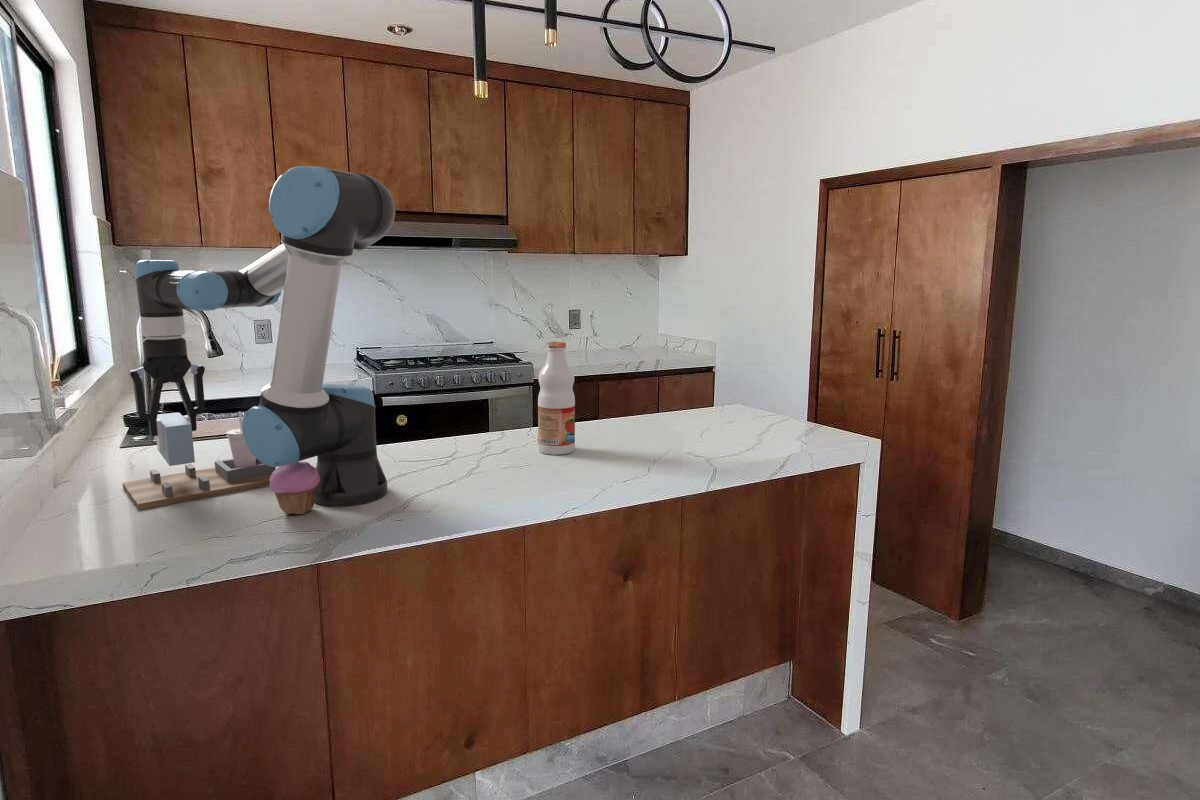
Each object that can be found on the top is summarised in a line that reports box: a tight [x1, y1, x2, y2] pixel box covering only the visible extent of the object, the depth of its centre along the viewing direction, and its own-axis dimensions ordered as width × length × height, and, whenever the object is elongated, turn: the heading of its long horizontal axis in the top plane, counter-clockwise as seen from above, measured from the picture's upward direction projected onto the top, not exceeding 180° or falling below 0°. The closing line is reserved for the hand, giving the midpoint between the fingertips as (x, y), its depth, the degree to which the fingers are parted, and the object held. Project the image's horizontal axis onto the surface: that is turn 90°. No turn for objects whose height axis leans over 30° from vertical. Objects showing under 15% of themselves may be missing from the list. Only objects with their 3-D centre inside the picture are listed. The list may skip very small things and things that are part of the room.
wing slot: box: [149, 463, 210, 497], centre depth 152 cm, size 16×8×2 cm, turn 41°
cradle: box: [214, 458, 277, 482], centre depth 160 cm, size 10×10×2 cm
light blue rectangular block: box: [157, 412, 196, 467], centre depth 150 cm, size 14×4×8 cm, turn 39°
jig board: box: [121, 467, 271, 511], centre depth 156 cm, size 18×28×1 cm, turn 131°
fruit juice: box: [537, 341, 576, 456], centre depth 184 cm, size 9×9×28 cm
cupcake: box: [269, 461, 320, 515], centre depth 138 cm, size 9×9×10 cm
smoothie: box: [226, 411, 256, 468], centre depth 159 cm, size 6×6×14 cm
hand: (175, 448), depth 151 cm, fingers closed on light blue rectangular block, 5 cm apart
